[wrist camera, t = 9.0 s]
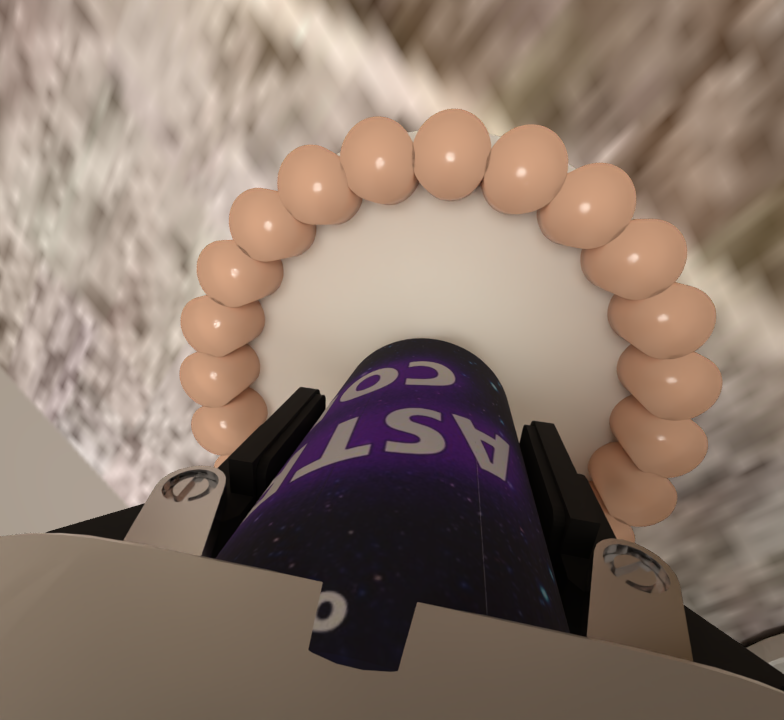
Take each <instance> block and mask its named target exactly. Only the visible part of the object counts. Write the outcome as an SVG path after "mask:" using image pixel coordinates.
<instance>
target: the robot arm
mask: <svg viewBox="0 0 784 720" xmlns="http://www.w3.org/2000/svg"><path fill="white" fill-rule="evenodd" d="M325 409H326V397H325V395H321V394H320V391H319V389H313V388H306V387H300V388H298V389H297V390H296V391H295V392H294V393H293V394H292V395H291V396H290V397H289V398H288V399H287V400H286V401H285V402H284V403H283V404H282V405H281V406H280V407H279V408H278V409H277V410H276V411H275V412H274V413H273V414H272V415H271V416H270V417H269V418H268V419H267V420H266V421H265V422H264V423H263V424H262V425H260V426H259V427H258V428H257V429H256V430H255V431H254V432H253V433H252V434H251V435H250V436H249V437H248V438H247V439H246V440H245V441H244V442H243V443H242V444H241V445H240V446H239V447H238V448H237V449H236V450H235V451H234V452H233V453H232V454H231V455H230V456H229V457H228V458H227V459H226V460H225V461H224V462H223V463H222V464H221V465H220V466H219V467H218V468H215V467H211V466H191V467H186V468H183V469H179V470H177V471H175V472H172V473H170V474H168V475H167V476H165V477H164V478H163V479H161V480H160V481H159V482H158V484H157V485H156V486H155V487H154V489H153V491H152V493H151V494H150V496H149V498H148V499H147V501H146V503H144V504H141V505H138V506H134V507H131V508H127V509H124V510H121V511H117V512H114V513H110V514H107V515H103V516H100V517H97V518H93V519H90V520H86V521H83V522H79V523H76V524H73V525H69V526H66V527H63V528H59V529H55V530H52V531H49V532H46V533H24V534H15V535H6V536H0V720H784V633H781V634H778V635H775V636H772V637H768V638H766V639H764V640H761V641H759V642H757V643H755V644H753V645H751V646H748V647H746V648H745V647H744V646H742V645H741V644H740V643H738V642H737V641H735V640H734V639H732V638H731V637H729V636H728V635H727V634H725V633H724V632H722V631H721V630H719V629H718V628H716V627H715V626H714V625H712V624H711V623H709V622H708V621H706V620H705V619H703V618H702V617H700V616H699V615H698V614H696V613H695V612H693V611H692V610H690V609H689V608H687V607H686V606H685V605H683V599H682V593H681V587H680V584H679V581H678V578H677V576H676V574H675V573H674V572H673V570H672V569H671V568H670V566H669V565H668V564H666V563H665V562H664V561H663V560H662V559H661V558H660V557H659V556H657V555H656V554H654V553H653V552H651V551H649V550H648V549H646V548H644V547H642V546H640V545H638V544H636V543H633V542H629V541H626V540H623V539H617V538H616V536H615V534H614V532H613V530H612V528H611V526H610V524H609V522H608V520H607V518H606V516H605V514H604V512H603V510H602V508H601V506H600V504H599V502H598V500H597V498H596V496H595V494H594V492H593V490H592V488H591V486H590V484H589V482H588V480H587V478H586V477H585V475H583V474H577V471H576V469H575V467H574V465H573V463H572V461H571V459H570V456H569V454H568V452H567V450H566V448H565V446H564V444H563V442H562V439H561V437H560V435H559V433H558V431H557V429H556V427H555V425H554V423H547V422H540V421H532V422H531V424H530V425H526V424H525V425H524V426H523V429H522V434H521V438H520V443H519V444H520V448H521V452H522V455H523V459H524V463H525V467H526V470H527V474H528V478H529V481H530V485H531V489H532V493H533V496H534V500H535V504H536V508H537V511H538V515H539V519H540V522H541V526H542V530H543V534H544V537H545V541H546V545H547V549H548V552H549V556H550V560H551V563H552V567H553V571H554V575H555V578H556V582H557V586H558V589H559V593H560V597H561V601H562V604H563V608H564V612H565V616H566V619H567V623H568V627H569V630H570V633H565V632H560V631H556V630H551V629H547V628H542V627H537V626H533V625H528V624H523V623H519V622H514V621H509V620H505V619H500V618H496V617H491V616H486V615H481V614H476V613H471V612H465V611H460V610H455V609H450V608H445V607H440V606H435V605H430V604H425V603H420V602H417V605H416V608H415V612H414V615H413V619H412V623H411V626H410V630H409V633H408V637H407V640H406V644H405V648H404V651H403V655H402V658H401V662H400V665H399V669H398V671H395V672H385V671H370V670H360V669H356V668H352V667H348V666H344V665H339V664H336V663H334V662H331V661H329V660H327V659H325V658H323V657H320V656H318V655H316V654H314V653H312V652H310V651H309V650H308V648H309V644H310V639H311V635H312V630H313V625H314V621H315V616H316V611H317V607H318V602H319V597H320V593H321V588H322V583H323V582H320V581H315V580H311V579H306V578H302V577H297V576H293V575H289V574H284V573H280V572H276V571H271V570H267V569H262V568H257V567H253V566H248V565H243V564H238V563H233V562H228V561H223V560H218V559H215V558H216V557H217V556H218V554H219V553H220V551H221V550H222V549H223V547H224V546H225V545H226V543H227V542H228V541H229V539H230V538H231V537H232V535H233V534H234V533H235V531H236V530H237V528H238V527H239V526H240V524H241V523H242V522H243V520H244V519H245V518H246V516H247V515H248V514H249V512H250V511H251V510H252V508H253V507H254V505H255V504H256V503H257V501H258V500H259V499H260V497H261V496H262V495H263V493H264V492H265V491H266V489H267V488H268V487H269V485H270V484H271V482H272V481H273V480H274V478H275V477H276V476H277V474H278V473H279V472H280V470H281V469H282V468H283V466H284V465H285V464H286V462H287V461H288V459H289V458H290V457H291V455H292V454H293V453H294V451H295V450H296V449H297V447H298V446H299V445H300V443H301V442H302V441H303V439H304V438H305V436H306V435H307V434H308V432H309V431H310V430H311V428H312V427H313V426H314V424H315V423H316V422H317V420H318V419H319V418H320V416H321V415H322V413H323V412H324V411H325Z"/></svg>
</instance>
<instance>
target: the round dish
mask: <svg viewBox="0 0 784 720" xmlns="http://www.w3.org/2000/svg"><path fill="white" fill-rule="evenodd" d="M277 184H278V191H274V190H269V189H263V188H253V189H249V190H247V191H245V192H243V193H242V194H240V195H239V196H238V197H237V198H236V200H235V201H234V203H233V205H232V207H231V210H230V214H229V227H230V232H231V235H232V238H233V240H221V241H215V242H212V243H210V244H209V245H207V246H206V247H205V248H204V249H203V250H202V252H201V253H200V255H199V258H198V261H197V276H198V280H199V283H200V285H201V287H202V289H203V290H204V292H205V293H206V294H207V295H205V296H201V297H198V298H195V299H192V300H191V301H189V302H188V303H187V304H186V306H185V307H184V309H183V311H182V314H181V328H182V332H183V334H184V336H185V338H186V340H187V341H188V343H189V344H190V345H191V346H192V347H193V348H194V349H195V350H196V351H198V352H195V353H193V354H191V355H190V356H188V357H187V358H186V359H185V360H184V361H183V363H182V364H181V367H180V381H181V384H182V387H183V389H184V390H185V392H186V393H187V395H188V396H189V397H190V398H191V399H192V400H194V401H195V402H196V403H198V404H200V405H202V407H201V408H199V409H198V410H197V411H196V412H195V413H194V415H193V417H192V421H191V427H192V432H193V434H194V437H195V438H196V440H197V441H198V443H199V444H200V445H201V446H202V447H203V448H205V449H206V450H207V451H209V452H211V453H213V454H216V455H221V456H220V457H219V458H218V459H217V460H216V462H215V465H214V467H215V468H218V467H219V466H220V465H221V464H222V463H223V462H224V461H225V460H226V459H227V458H228V457H229V456H230V455H231V454H232V453H233V452H234V451H235V450H236V449H237V448H238V447H239V446H240V445H241V444H242V443H243V442H244V441H245V440H246V439H247V438H248V437H249V436H250V435H251V434H252V433H253V432H254V431H255V430H256V429H257V428H258V427H259V426H260V425H262V424H263V423H264V422H265V421H266V420H267V419H268V418H269V417H270V416H271V415H272V414H273V413H274V412H275V411H276V410H277V409H278V408H279V407H280V406H281V405H282V404H283V403H284V402H285V401H286V400H287V399H288V398H289V397H290V396H291V395H292V394H293V393H294V392H295V391H296V390H297V389H298V388H300V387H306V388H313V389H319V391H320V394H321V395H325V397H326V408H327V407H328V405H329V404H330V403H331V401H332V400H333V399H334V397H335V396H336V395H337V393H338V392H339V390H340V389H341V388H342V386H343V385H344V384H345V382H346V381H347V380H348V378H349V377H350V376H351V374H352V373H353V372H354V370H355V369H356V368H357V366H358V365H359V364H360V363H361V362H362V361H363V360H364V359H365V358H366V357H367V356H369V355H370V354H371V353H373V352H374V351H376V350H378V349H379V348H381V347H383V346H386V345H388V344H391V343H393V342H397V341H400V340H406V339H413V338H429V339H437V340H442V341H446V342H449V343H452V344H455V345H458V346H460V347H462V348H464V349H466V350H468V351H470V352H471V353H473V354H474V355H476V356H477V357H478V358H480V359H481V360H482V361H483V362H484V363H485V364H486V365H487V366H488V367H489V368H490V369H491V370H492V371H493V372H494V374H495V375H496V377H497V378H498V379H499V381H500V383H501V385H502V387H503V389H504V391H505V394H506V396H507V400H508V403H509V407H510V411H511V414H512V418H513V422H514V426H515V429H516V433H517V437H518V441H519V443H520V438H521V434H522V429H523V426H524V425H525V424H526V425H530V424H531V422H532V421H540V422H547V423H554V425H555V427H556V429H557V431H558V433H559V435H560V437H561V439H562V442H563V444H564V446H565V448H566V450H567V452H568V454H569V456H570V459H571V461H572V463H573V465H574V467H575V469H576V471H577V474H583V475H585V477H586V478H587V480H588V482H589V484H590V486H591V488H592V490H593V492H594V494H595V496H596V498H597V500H598V502H599V504H600V506H601V508H602V510H603V512H604V514H605V516H606V518H607V520H608V522H609V524H610V526H611V528H612V530H613V532H614V534H615V536H616V538H617V539H623V540H626V541H629V542H633V543H635V535H634V532H633V530H632V528H631V527H630V526H635V527H643V526H650V525H654V524H656V523H659V522H661V521H662V520H664V519H665V518H667V517H668V516H669V515H670V514H671V513H672V511H673V510H674V508H675V506H676V503H677V493H676V490H675V488H674V486H673V485H672V483H671V482H670V481H669V480H668V478H672V477H677V476H681V475H684V474H686V473H688V472H690V471H692V470H693V469H694V468H696V467H697V466H698V465H699V464H700V463H701V462H702V460H703V459H704V457H705V455H706V453H707V449H708V441H707V437H706V434H705V433H704V431H703V430H702V429H701V428H700V427H699V426H698V425H697V424H696V423H695V422H693V421H692V420H691V418H694V417H696V416H698V415H700V414H702V413H704V412H705V411H706V410H708V409H709V408H710V407H711V406H712V405H713V404H714V403H715V402H716V400H717V399H718V397H719V395H720V392H721V389H722V376H721V373H720V371H719V369H718V367H717V366H716V365H715V364H714V363H713V362H712V361H710V360H709V359H707V358H705V357H704V356H702V355H700V354H698V353H696V352H694V351H695V350H697V349H698V348H700V347H701V346H702V345H703V344H704V343H705V342H706V341H707V339H708V338H709V337H710V335H711V333H712V331H713V329H714V326H715V322H716V310H715V306H714V304H713V302H712V300H711V299H710V298H709V296H708V295H707V294H706V293H704V292H703V291H701V290H699V289H697V288H695V287H691V286H688V285H684V284H680V283H676V282H675V281H676V280H677V279H678V277H679V276H680V275H681V273H682V271H683V269H684V266H685V263H686V259H687V246H686V242H685V239H684V237H683V235H682V234H681V232H680V231H679V230H678V229H677V228H676V227H675V226H673V225H672V224H670V223H668V222H666V221H663V220H659V219H633V218H632V217H633V214H634V211H635V206H636V192H635V187H634V185H633V182H632V181H631V179H630V177H629V176H628V175H627V174H626V173H625V172H624V171H623V170H622V169H620V168H619V167H616V166H614V165H611V164H608V163H592V164H588V165H584V166H582V167H580V168H577V169H576V168H574V167H573V166H571V165H570V164H568V155H567V151H566V148H565V146H564V144H563V142H562V140H561V139H560V138H559V136H558V135H557V134H555V133H554V132H553V131H552V130H550V129H548V128H546V127H544V126H540V125H522V126H519V127H516V128H514V129H512V130H510V131H508V132H507V133H505V134H504V135H503V136H501V137H500V136H496V135H491V134H489V133H488V131H487V129H486V127H485V126H484V124H483V123H482V122H481V120H480V119H479V118H477V117H476V116H475V115H473V114H472V113H470V112H468V111H465V110H462V109H447V110H443V111H440V112H438V113H436V114H434V115H433V116H431V117H430V118H429V119H428V120H426V121H425V123H424V124H423V125H422V126H421V128H420V129H419V131H414V132H408V133H407V131H406V130H405V129H404V128H403V127H402V126H401V125H400V124H399V123H397V122H396V121H394V120H392V119H389V118H386V117H370V118H367V119H364V120H362V121H360V122H359V123H357V124H356V125H355V126H354V127H353V128H352V129H351V130H350V131H349V132H348V134H347V136H346V137H345V139H344V141H343V144H342V147H341V152H340V153H338V154H335V153H333V152H331V151H330V150H328V149H326V148H324V147H321V146H318V145H304V146H301V147H298V148H296V149H294V150H293V151H291V152H290V153H289V154H288V155H287V156H286V158H285V159H284V161H283V162H282V164H281V167H280V169H279V173H278V182H277Z"/></svg>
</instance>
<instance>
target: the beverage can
mask: <svg viewBox="0 0 784 720" xmlns="http://www.w3.org/2000/svg"><path fill="white" fill-rule="evenodd" d="M215 559H218V560H223V561H228V562H233V563H238V564H243V565H248V566H253V567H257V568H262V569H267V570H271V571H276V572H280V573H284V574H289V575H293V576H297V577H302V578H306V579H311V580H315V581H320V582H323V583H322V588H321V593H320V597H319V602H318V607H317V611H316V616H315V621H314V625H313V630H312V635H311V639H310V644H309V648H308V650H309V651H310V652H312V653H314V654H316V655H318V656H320V657H323V658H325V659H327V660H329V661H331V662H334V663H336V664H339V665H344V666H348V667H352V668H356V669H360V670H370V671H385V672H395V671H398V669H399V665H400V662H401V658H402V655H403V651H404V648H405V644H406V640H407V637H408V633H409V630H410V626H411V623H412V619H413V615H414V612H415V608H416V605H417V602H420V603H425V604H430V605H435V606H440V607H445V608H450V609H455V610H460V611H465V612H471V613H476V614H481V615H486V616H491V617H496V618H500V619H505V620H509V621H514V622H519V623H523V624H528V625H533V626H537V627H542V628H547V629H551V630H556V631H560V632H565V633H570V630H569V627H568V623H567V619H566V616H565V612H564V608H563V604H562V601H561V597H560V593H559V589H558V586H557V582H556V578H555V575H554V571H553V567H552V563H551V560H550V556H549V552H548V549H547V545H546V541H545V537H544V534H543V530H542V526H541V522H540V519H539V515H538V511H537V508H536V504H535V500H534V496H533V493H532V489H531V485H530V481H529V478H528V474H527V470H526V467H525V463H524V459H523V455H522V452H521V448H520V444H519V441H518V437H517V433H516V429H515V426H514V422H513V418H512V414H511V411H510V407H509V403H508V400H507V396H506V394H505V391H504V389H503V387H502V385H501V383H500V381H499V379H498V378H497V377H496V375H495V374H494V372H493V371H492V370H491V369H490V368H489V367H488V366H487V365H486V364H485V363H484V362H483V361H482V360H481V359H480V358H478V357H477V356H476V355H474V354H473V353H471V352H470V351H468V350H466V349H464V348H462V347H460V346H458V345H455V344H452V343H449V342H446V341H442V340H437V339H429V338H413V339H406V340H400V341H397V342H393V343H391V344H388V345H386V346H383V347H381V348H379V349H378V350H376V351H374V352H373V353H371V354H370V355H369V356H367V357H366V358H365V359H364V360H363V361H362V362H361V363H360V364H359V365H358V366H357V368H356V369H355V370H354V372H353V373H352V374H351V376H350V377H349V378H348V380H347V381H346V382H345V384H344V385H343V386H342V388H341V389H340V390H339V392H338V393H337V395H336V396H335V397H334V399H333V400H332V401H331V403H330V404H329V405H328V407H327V408H326V409H325V411H324V412H323V413H322V415H321V416H320V418H319V419H318V420H317V422H316V423H315V424H314V426H313V427H312V428H311V430H310V431H309V432H308V434H307V435H306V436H305V438H304V439H303V441H302V442H301V443H300V445H299V446H298V447H297V449H296V450H295V451H294V453H293V454H292V455H291V457H290V458H289V459H288V461H287V462H286V464H285V465H284V466H283V468H282V469H281V470H280V472H279V473H278V474H277V476H276V477H275V478H274V480H273V481H272V482H271V484H270V485H269V487H268V488H267V489H266V491H265V492H264V493H263V495H262V496H261V497H260V499H259V500H258V501H257V503H256V504H255V505H254V507H253V508H252V510H251V511H250V512H249V514H248V515H247V516H246V518H245V519H244V520H243V522H242V523H241V524H240V526H239V527H238V528H237V530H236V531H235V533H234V534H233V535H232V537H231V538H230V539H229V541H228V542H227V543H226V545H225V546H224V547H223V549H222V550H221V551H220V553H219V554H218V556H217V557H216V558H215Z"/></svg>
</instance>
